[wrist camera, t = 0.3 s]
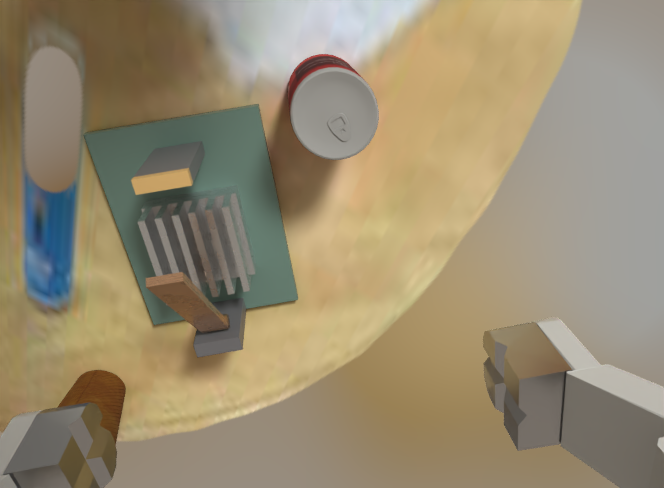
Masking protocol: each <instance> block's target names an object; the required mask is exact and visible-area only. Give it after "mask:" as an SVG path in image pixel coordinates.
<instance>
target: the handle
mask: <svg viewBox="0 0 664 488" xmlns="http://www.w3.org/2000/svg"><path fill="white" fill-rule="evenodd" d="M146 288H147V289H149V290H150V291H151V292H152V293H153V294H155V295H156V296H157V297H158V298H160V299H161V300H162V301H163V302H164V303H166V304H167V305H168V306H169V307H171V308H172V309H173V310H174V311H176V312H177V313H178V314H179V315H180V316H182V317H183V318H184V319H185V320H187V321H188V322H189V323H190V324H191V325H193V326H194V327H195V328H196V329H198V330H199V331H200V332H201V333H205V332H211V331H217V330H222V329H228V328H230V319H229V316H228V314H223V315H222V314H221V313H220V312H219V310H218V309H217V308H216V307H215V306H214V305H213V304H212V303H211V302H210V301H209V300H208V299H207V298H206V296H205V295H204V294H203V293H202V292H201V291H200V290H199V289H198V288H197V287H196V286H195V285H194V284H193V282H192V281H191V280H190V279H189V278H188V277H187V276H186V275H185V274H184V273H183V272H179V273H173V274H167V275H161V276H155V277H150V278H146Z"/></svg>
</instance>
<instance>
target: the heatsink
mask: <svg viewBox="0 0 664 488" xmlns="http://www.w3.org/2000/svg"><path fill="white" fill-rule="evenodd" d="M141 210H142V215H141V217H140V218H139V220H138V225H139V228H140V231H141V234H142V237H143V239H144V242H145V245H146V248H147V251H148V254H149V257H150V259H151V262H152V265H153V268H154V271H155V274H156V276H161V275H167V274H173V273H179V272H183V273H184V274H185V275H186V276H187V277H188V278H189V279H190V280H191V281H192V282H193V284H194V285H195V286H196V287H197V288H198V289H199V290H200V291H201V292H202V293H203V294H204V295H205V294H206V289H207V285H208V284H209V287H210V290H211V294H212V297H218V296H219V294H220V288H221V283H222V280H224V282H225V285H226V289H227V292H228V295H229V294H235V287H236V279H237V277H240V280H241V283H242V287H243V291H244V292H247V291H250V287H251V275H253V274H255V273H256V261H255V257H254V253H253V249H252V244H251V240H250V236H249V232H248V228H247V224H246V220H245V216H244V211H243V207H242V203H241V199H240V195H239V191H238V187H237V185H234V186H228V187H222V188H216V189H210V190H205V191H199V192H193V193H187V194H181V195H175V196H169V197H163V198H157V199H151V200H146V202H145V204H144V205H143V207H142V209H141ZM166 305H167V304H166Z"/></svg>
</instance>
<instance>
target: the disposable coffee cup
mask: <svg viewBox="0 0 664 488" xmlns="http://www.w3.org/2000/svg"><path fill="white" fill-rule="evenodd" d="M124 397H125V385H124V383H123V381H122V380H121V379H120V378H119V377H118V376H116V375H114V374H113V373H110V372H107V371H102V370H95V371H89V372H86V373H84V374H83V375H81V376H80V377H79V378H78V380H77V381H76V383H75V384H74V385H73V387H72V388H71V389H70V391H69V392H68V394H67V395H66V396H65V398H64V399H63V400H62V402H61V403H60V404H59V406H58V407H64V406H70V405H77V404H83V403H89V402H91V403H94V404H97V406H98V407H99V409H100V411H101V413H102V415H103V417H102V420H101V422H100V426H101V427H103V428H105V429H106V430H108V431H110V432H111V434H112V436H113V438H114V441H115V445H116V438H117V434H118V429H119V423H120V418H121V413H122V412H121V411H122V407H123V402H124ZM58 407H57V408H58Z"/></svg>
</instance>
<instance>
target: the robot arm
mask: <svg viewBox="0 0 664 488" xmlns="http://www.w3.org/2000/svg"><path fill="white" fill-rule="evenodd" d="M483 347H484V349H485V351H486V353H487V354H488V356H489V357H488V358H487V360H486V361H485V363H484V378H485V382H486V387H487V391H488V393H489V396H490V399H491V401H492V403H493V405H494V407H495V408H496V409H497V410H499V411H501V412H503V413H504V426H505V428H506V429H507V431H508V433H509V435H510V437H511V439H512V441H513V443H514V444H515V446H516V448H517V450H518V451H519V450H526V449H532V448H538V447H545V446H550V445H557V444H561V446H562V447H563V448H564V449H566V450H567V451H569V452H570V453H571V454H573V455H574V456H576V457H577V458H579V459H580V460H581V461H583V462H584V463H586V464H587V465H588V466H590V467H591V468H593V469H594V470H596V471H597V472H599V473H600V474H601V475H603V476H604V477H606V478H607V479H608V480H610V481H611V482H612V483H614V484H615V485H617V486H618V487H620V488H664V387H662V386H660V385H657V384H655V383H653V382H650V381H648V380H645V379H643V378H641V377H638V376H636V375H633V374H631V373H628V372H626V371H623V370H621V369H619V368H616V367H614V366H611V365H609V364H607V365H600V364H599V362H598V361H597V360H596V359H595V358H594V357H593V356H592V355H591V353H590V352H589V351H588V350H587V349H586V348H585V347H584V346H583V345H582V343H581V342H580V341H579V340H578V339H577V338H576V336H575V335H574V334H573V333H572V332H571V331H570V330H569V329H568V327H566V325H565V324H564V323H563V322H562V321H561V320H560V319H559V318H556V317H552V318H548V319H543V320H537V321H533V322H531V323H526V324H520V325H515V326H510V327H504V328H499V329H494V330H488V331H485V332H484V336H483ZM102 417H103V415H102V413H101V411H100V409H99V407H98V406H97V404H94V403H91V402H89V403H83V404H77V405H70V406H64V407H58V408H51V409H45V410H43V411H35V412H29V413H22V414H19V415H17V416H15V417H14V418H12V419H11V421H10V422H9V424H8V426H7V427H6V429H5V430H4V432H3V434H2V435H1V437H0V488H104V487H105V486H106V485H107V484H108V483H109V482H110V481H111V480H112V477H113V474H114V471H115V468H116V458H117V451H116V445H115V441H114V438H113V436H112V434H111V432H110V431H108V430H106V429H105V428H103V427H101V426H100V422H101V420H102Z"/></svg>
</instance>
